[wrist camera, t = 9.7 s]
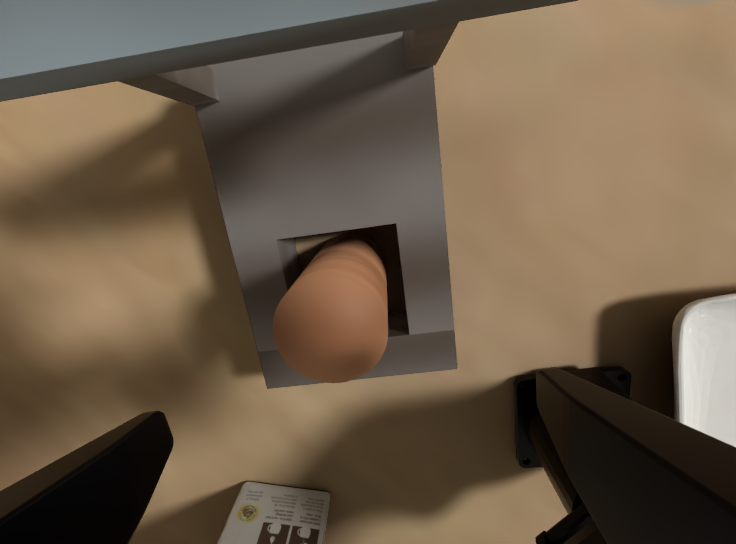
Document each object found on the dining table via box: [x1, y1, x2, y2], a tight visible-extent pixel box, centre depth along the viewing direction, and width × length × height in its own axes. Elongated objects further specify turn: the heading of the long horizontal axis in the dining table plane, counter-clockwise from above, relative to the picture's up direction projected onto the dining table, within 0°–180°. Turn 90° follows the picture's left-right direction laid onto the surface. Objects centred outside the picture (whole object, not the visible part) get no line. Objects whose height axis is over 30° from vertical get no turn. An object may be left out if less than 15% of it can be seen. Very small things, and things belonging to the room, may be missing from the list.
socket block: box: [0, 0, 578, 389], centre depth 13 cm, size 16×12×13 cm
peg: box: [273, 234, 388, 383], centre depth 16 cm, size 4×4×8 cm
